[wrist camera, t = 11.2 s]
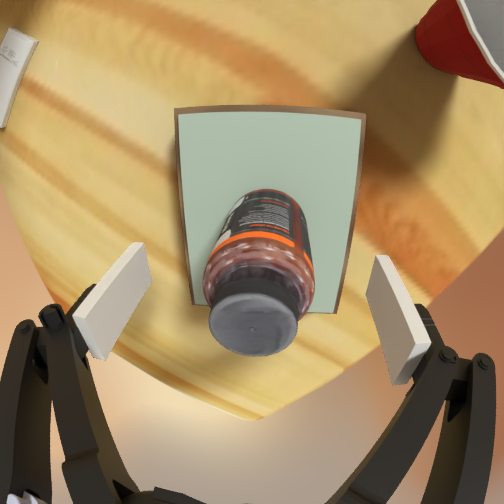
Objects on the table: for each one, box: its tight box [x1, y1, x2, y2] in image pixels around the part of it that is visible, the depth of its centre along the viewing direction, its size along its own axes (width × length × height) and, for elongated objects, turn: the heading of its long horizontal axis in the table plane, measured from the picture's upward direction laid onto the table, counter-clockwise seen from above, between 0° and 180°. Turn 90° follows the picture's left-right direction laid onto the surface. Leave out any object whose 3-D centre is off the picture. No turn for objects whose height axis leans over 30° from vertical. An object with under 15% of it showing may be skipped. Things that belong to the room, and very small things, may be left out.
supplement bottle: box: [202, 189, 315, 357], centre depth 17 cm, size 6×6×11 cm
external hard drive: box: [0, 27, 39, 128], centre depth 20 cm, size 2×8×12 cm
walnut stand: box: [174, 105, 366, 314], centre depth 24 cm, size 18×14×5 cm
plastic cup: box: [415, 0, 504, 89], centre depth 11 cm, size 11×11×12 cm
